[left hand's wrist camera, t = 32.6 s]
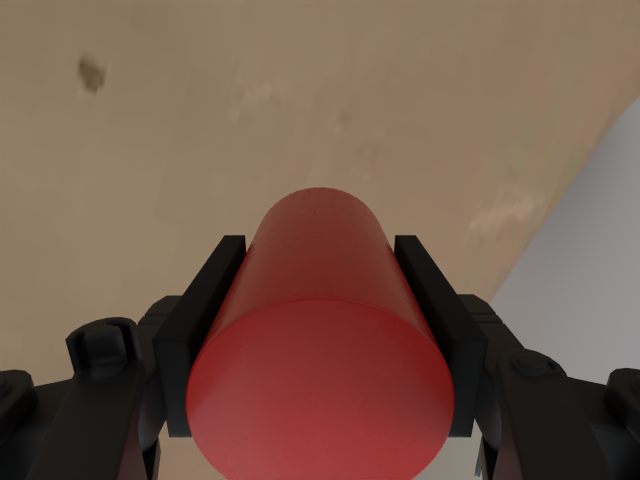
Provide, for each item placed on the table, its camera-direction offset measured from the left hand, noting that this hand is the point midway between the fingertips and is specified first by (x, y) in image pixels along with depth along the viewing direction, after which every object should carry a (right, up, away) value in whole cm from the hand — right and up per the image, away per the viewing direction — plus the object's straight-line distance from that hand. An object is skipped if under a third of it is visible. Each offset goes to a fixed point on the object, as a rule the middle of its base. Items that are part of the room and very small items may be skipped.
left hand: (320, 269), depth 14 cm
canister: (0, +1, +2) cm, 2 cm away
